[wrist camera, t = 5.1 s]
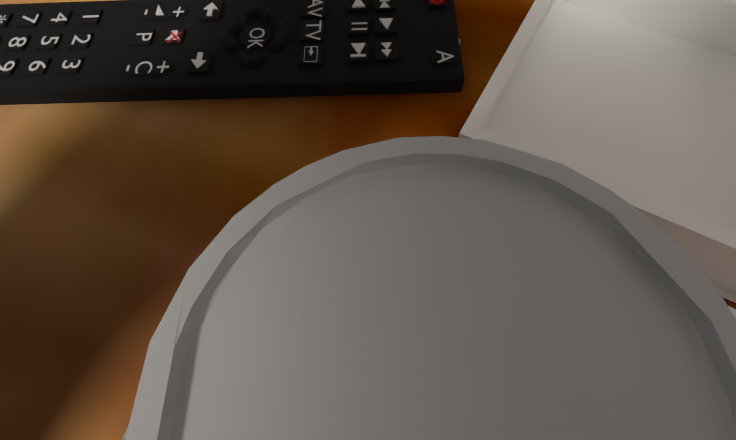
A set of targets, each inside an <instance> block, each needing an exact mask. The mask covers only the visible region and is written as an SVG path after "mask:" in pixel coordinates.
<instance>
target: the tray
mask: <svg viewBox="0 0 736 440" xmlns="http://www.w3.org/2000/svg"><path fill="white" fill-rule="evenodd" d="M458 138H468V139H478V140H486V141H489V142H493V143H496V144H500V145H503V146H507V147H510V148H513V149H517V150H520V151H524V152H527V153H530V154H533V155H536V156H539V157H542V158H545V159H548V160H551V161H555V162H558V163H561V164H563V165H565V166H567V167H569V168H571V169H573V170H575V171H576V172H578V173H580V174H582V175H584V176H586V177H587V178H589V179H591V180H593V181H595V182H597V183H598V184H600V185H602V186H604V187H606V188H608V189H609V190H611V191H612V192H614V193H615V194H617V195H618V196H619V197H621V198H622V199H623V200H625V201H626V202H628V203H629V204H630V205H632V206H633V207H634V208H636V209H637V210H639V211H640V212H641V213H643V214H644V215H645V216H647V217H648V218H650V219H651V220H652V221H653V222H654V223H655V224H656V225H657V226H658V227H659V228H660V229H661V230H662V231H663V232H664V233H665V234H666V235H667V236H668V237H669V238H671V239H672V240H673V241H674V242H675V243H676V244H677V245H678V246H679V247H680V248H681V249H682V250H683V251H684V252H685V253H686V254H687V255H688V256H689V257H690V258H691V259H692V261H693V262H694V263H695V264H696V265H697V267H698V268H699V269H700V270H701V271H702V272H703V274H704V275H705V276H706V277H707V278H708V280H709V281H710V282H711V283H712V284H713V285H714V287H715V288H716V289H717V290H718V292H719V293H720V295H721V296H722V297H723V298H725V299H727V300H730V301H732V302H734V303H736V0H535V1H534V3H533V5H532V7H531V8H530V10H529V12H528V14H527V15H526V17H525V19H524V21H523V22H522V24H521V26H520V28H519V29H518V31H517V33H516V35H515V36H514V38H513V40H512V42H511V43H510V45H509V47H508V49H507V50H506V52H505V54H504V56H503V57H502V59H501V61H500V63H499V64H498V66H497V68H496V70H495V71H494V73H493V75H492V77H491V78H490V80H489V82H488V84H487V85H486V87H485V89H484V91H483V93H482V94H481V96H480V98H479V100H478V101H477V103H476V105H475V107H474V108H473V110H472V112H471V114H470V115H469V117H468V119H467V121H466V122H465V124H464V126H463V128H462V129H461V131H460V133H459V136H458Z"/></svg>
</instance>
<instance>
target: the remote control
mask: <svg viewBox="0 0 736 440" xmlns="http://www.w3.org/2000/svg"><path fill="white" fill-rule="evenodd" d="M459 44H460V39H459V38H458V30H457V23H456V16H455V9H454V2H453V0H117V1H89V2H60V3H31V4H3V5H0V105H14V104H50V103H85V102H121V101H157V100H192V99H228V98H264V97H299V96H335V95H371V94H406V93H442V92H461V89H462V86H463V82H464V74H463V66H462V59H461V52H460V45H459Z"/></svg>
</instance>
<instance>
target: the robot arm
mask: <svg viewBox="0 0 736 440" xmlns="http://www.w3.org/2000/svg"><path fill="white" fill-rule="evenodd" d="M728 307H729V309H730V310H731V312H732V313H733V315H734V316H735V318H736V309H734V308H732V307H730V306H728ZM128 426H129V425H128ZM127 430H128V427H127V429H126V431H125V433H124V435H123V437H122V439H121V440H125V438H126V434H127Z"/></svg>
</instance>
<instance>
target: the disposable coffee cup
mask: <svg viewBox="0 0 736 440" xmlns="http://www.w3.org/2000/svg"><path fill="white" fill-rule="evenodd" d="M125 440H736V318H735V316H734V315H733V313H732V312H731V310H730V309H729V307H728V305H727V304H726V302H725V301H724V299H723V298H722V296H721V295H720V293H719V292H718V290H717V289H716V288H715V287H714V285H713V284H712V283H711V282H710V281H709V280H708V278H707V277H706V276H705V275H704V274H703V272H702V271H701V270H700V269H699V268H698V267H697V265H696V264H695V263H694V262H693V261H692V259H691V258H690V257H689V256H688V255H687V254H686V253H685V252H684V251H683V250H682V249H681V248H680V247H679V246H678V245H677V244H676V243H675V242H674V241H673V240H672V239H671V238H669V237H668V236H667V235H666V234H665V233H664V232H663V231H662V230H661V229H660V228H659V227H658V226H657V225H656V224H655V223H654V222H653V221H652V220H651V219H650V218H648V217H647V216H645V215H644V214H643V213H641V212H640V211H639V210H637V209H636V208H634V207H633V206H632V205H630V204H629V203H628V202H626V201H625V200H623V199H622V198H621V197H619V196H618V195H617V194H615V193H614V192H612V191H611V190H609V189H608V188H606V187H604V186H602V185H600V184H598V183H597V182H595V181H593V180H591V179H589V178H587V177H586V176H584V175H582V174H580V173H578V172H576V171H575V170H573V169H571V168H569V167H567V166H565V165H563V164H561V163H558V162H555V161H551V160H548V159H545V158H542V157H539V156H536V155H533V154H530V153H527V152H524V151H520V150H517V149H513V148H510V147H507V146H503V145H500V144H496V143H493V142H489V141H486V140H478V139H468V138H457V137H447V136H430V137H401V138H394V139H390V140H385V141H381V142H377V143H373V144H368V145H364V146H360V147H355V148H351V149H347V150H343V151H340V152H338V153H336V154H333V155H331V156H328V157H326V158H323V159H321V160H319V161H316V162H314V163H311V164H309V165H306V166H304V167H303V168H301V169H299V170H297V171H296V172H294V173H292V174H291V175H289V176H287V177H286V178H284V179H282V180H280V181H279V182H277V183H275V184H274V185H272V186H271V187H270V188H269V189H267V190H266V191H265V192H263V193H262V194H261V195H260V196H258V197H257V198H256V199H255V200H253V201H252V202H251V203H249V204H248V205H247V206H246V207H244V208H243V209H242V210H241V211H239V212H238V213H237V214H235V215H234V216H233V217H232V218H231V220H230V221H229V222H228V223H227V224H226V225H225V227H224V228H223V229H222V230H221V231H220V232H219V234H218V235H217V236H216V237H215V238H214V239H213V241H212V242H211V243H210V244H209V245H208V246H207V248H206V249H205V250H204V251H203V252H202V253H201V255H200V256H199V257H198V258H197V259H196V261H195V262H194V263H193V264H192V265H191V266H190V268H189V269H188V271H187V273H186V275H185V277H184V278H183V280H182V282H181V284H180V286H179V288H178V290H177V292H176V293H175V295H174V297H173V299H172V301H171V303H170V305H169V307H168V308H167V310H166V312H165V314H164V316H163V318H162V320H161V322H160V323H159V325H158V327H157V329H156V331H155V333H154V335H153V337H152V338H151V340H150V342H149V346H148V350H147V354H146V358H145V362H144V366H143V370H142V374H141V378H140V382H139V386H138V390H137V394H136V398H135V402H134V406H133V410H132V414H131V418H130V422H129V426H128V430H127V434H126V438H125Z"/></svg>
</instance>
